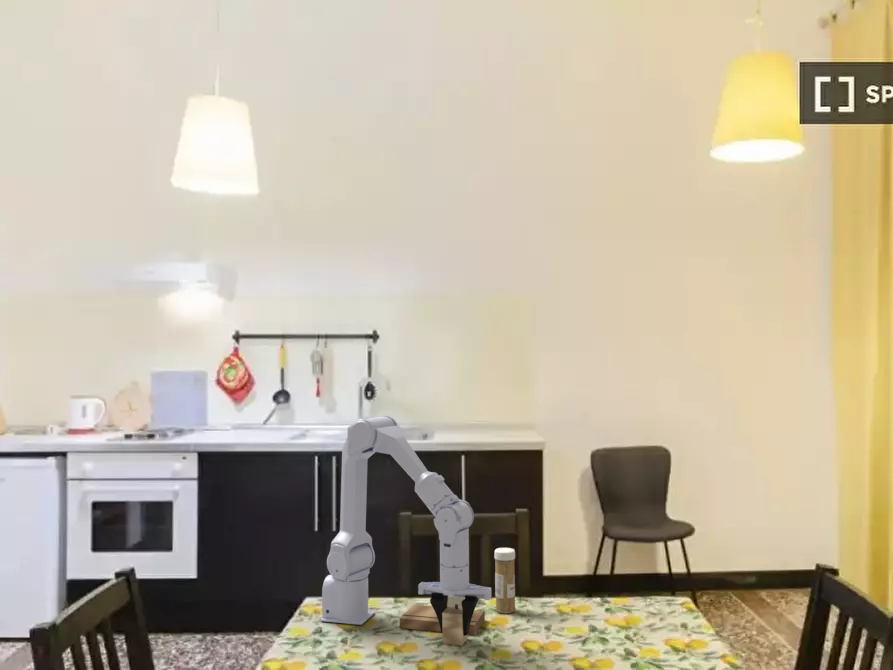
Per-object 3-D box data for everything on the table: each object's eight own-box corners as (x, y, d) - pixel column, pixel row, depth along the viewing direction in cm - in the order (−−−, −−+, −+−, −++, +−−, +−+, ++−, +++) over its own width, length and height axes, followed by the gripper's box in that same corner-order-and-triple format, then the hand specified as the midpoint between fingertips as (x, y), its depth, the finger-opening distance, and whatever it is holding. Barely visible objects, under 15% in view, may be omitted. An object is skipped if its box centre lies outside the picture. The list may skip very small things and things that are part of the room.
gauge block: (442, 643, 156) (442, 608, 156) (448, 636, 160) (447, 602, 160) (462, 645, 155) (462, 610, 155) (467, 638, 158) (467, 604, 159)
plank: (399, 627, 164) (399, 617, 165) (413, 613, 173) (413, 604, 173) (474, 635, 160) (474, 624, 160) (484, 620, 169) (484, 610, 169)
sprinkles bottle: (517, 613, 173) (517, 551, 173) (497, 614, 172) (496, 552, 172) (513, 606, 177) (512, 546, 177) (493, 608, 177) (492, 547, 177)
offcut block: (444, 615, 166) (444, 596, 166) (445, 609, 170) (444, 590, 170) (463, 615, 166) (463, 596, 166) (463, 608, 170) (463, 590, 170)
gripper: (413, 566, 155) (413, 636, 155) (485, 572, 151) (486, 643, 151) (424, 557, 162) (424, 624, 162) (493, 562, 158) (494, 630, 158)
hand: (454, 632), depth 157 cm, fingers closed on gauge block, 4 cm apart
